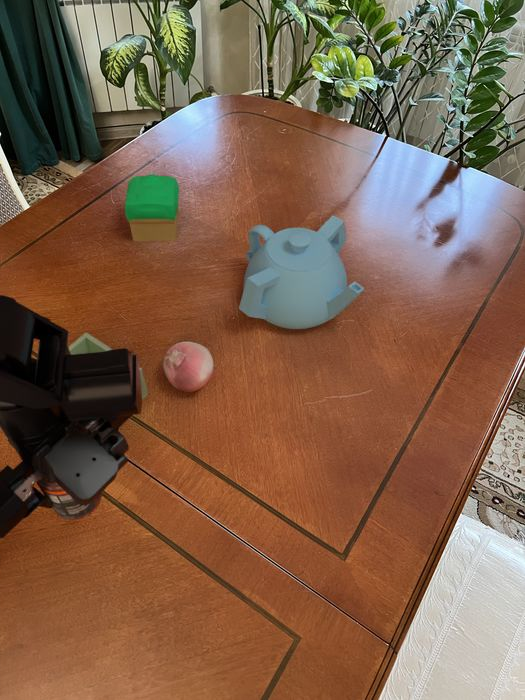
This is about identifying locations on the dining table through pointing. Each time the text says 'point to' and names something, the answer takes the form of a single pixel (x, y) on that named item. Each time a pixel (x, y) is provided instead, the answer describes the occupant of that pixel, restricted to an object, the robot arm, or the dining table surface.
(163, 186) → the cake
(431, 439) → the dining table surface
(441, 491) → the dining table surface
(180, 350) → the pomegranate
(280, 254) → the teapot
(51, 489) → the supplement bottle
